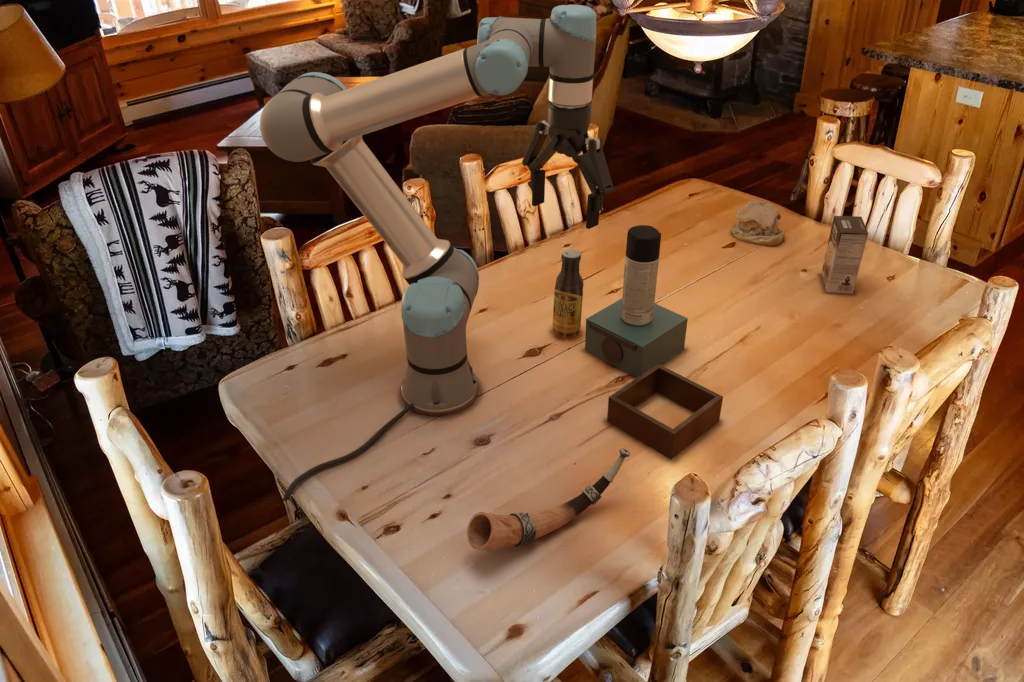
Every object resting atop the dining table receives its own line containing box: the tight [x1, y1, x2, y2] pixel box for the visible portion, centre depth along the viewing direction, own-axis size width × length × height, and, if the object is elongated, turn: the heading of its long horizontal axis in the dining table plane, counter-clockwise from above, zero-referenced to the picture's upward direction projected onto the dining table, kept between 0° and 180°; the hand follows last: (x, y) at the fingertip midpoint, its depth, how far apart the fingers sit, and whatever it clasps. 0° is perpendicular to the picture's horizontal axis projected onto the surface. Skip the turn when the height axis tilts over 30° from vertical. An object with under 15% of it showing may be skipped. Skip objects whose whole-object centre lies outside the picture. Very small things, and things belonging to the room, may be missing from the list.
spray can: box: [621, 224, 662, 326], centre depth 162 cm, size 7×7×20 cm
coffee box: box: [820, 215, 869, 295], centre depth 189 cm, size 9×6×16 cm
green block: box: [584, 298, 689, 379], centre depth 170 cm, size 16×15×8 cm
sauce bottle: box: [551, 248, 584, 339], centre depth 173 cm, size 6×6×20 cm
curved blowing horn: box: [466, 447, 631, 551], centre depth 128 cm, size 6×30×10 cm, turn 121°
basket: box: [606, 364, 724, 460], centre depth 150 cm, size 15×15×6 cm
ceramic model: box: [731, 199, 786, 246], centre depth 214 cm, size 14×11×10 cm
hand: (564, 215), depth 151 cm, fingers open, 13 cm apart
